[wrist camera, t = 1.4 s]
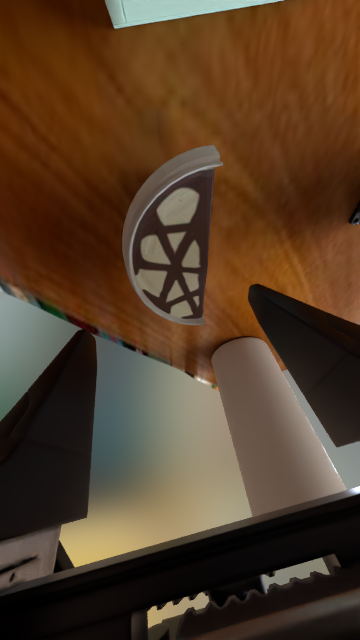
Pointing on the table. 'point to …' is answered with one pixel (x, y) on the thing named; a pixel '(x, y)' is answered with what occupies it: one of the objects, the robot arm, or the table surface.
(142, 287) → the food container
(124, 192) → the table surface
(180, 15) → the light green open box
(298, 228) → the table surface
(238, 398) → the cylinder vase
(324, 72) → the table surface
